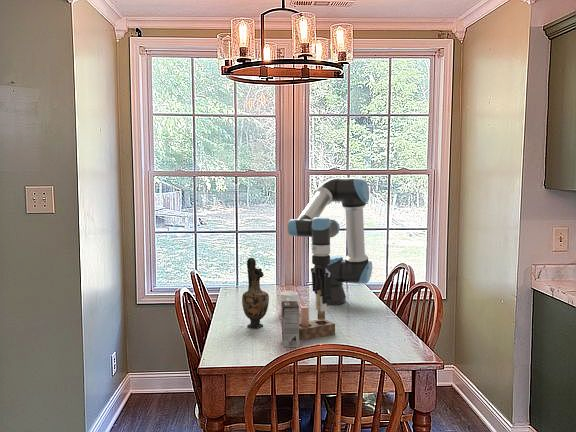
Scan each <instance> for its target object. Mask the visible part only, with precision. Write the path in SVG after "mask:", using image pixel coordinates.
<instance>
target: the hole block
mask: <svg viewBox="0 0 576 432" xmlns="http://www.w3.org/2000/svg"><path fill="white" fill-rule="evenodd" d="M333 334H334V335H336V323H335V322H332V321H331V320H328V319H326V318H325V319H324V320H319V319H318V318H317V319H313V320H309V327H301V321H299V340H300V341H305V340H311V339H316V338H323V337H327V336H328V335H329V336H333Z"/></svg>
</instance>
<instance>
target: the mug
mask: <svg viewBox="0 0 576 432" xmlns="http://www.w3.org/2000/svg"><path fill="white" fill-rule="evenodd" d="M279 295H280V315H281V316H282V303H281V302H282V301H297V303H298V304H299V293H298V292H297V291H290V290H287V291H281V292H280V294H279Z"/></svg>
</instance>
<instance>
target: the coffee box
mask: <svg viewBox="0 0 576 432" xmlns="http://www.w3.org/2000/svg"><path fill="white" fill-rule="evenodd" d="M281 303H282V315H281V339H282V340H281V341H282V345H283V348H293V347H294V348H297V347H298V348H299V347H300V339H299V323H300V306H299V302H298V303H297V301H282V302H281V301H280V304H281Z"/></svg>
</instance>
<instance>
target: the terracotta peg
mask: <svg viewBox="0 0 576 432" xmlns="http://www.w3.org/2000/svg"><path fill="white" fill-rule="evenodd" d="M309 312H310V311H309V306H305V305H304V306H301V307H300V322H301V327H309V321H310V320H309V319H310V318H309V315H310V313H309Z"/></svg>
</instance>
